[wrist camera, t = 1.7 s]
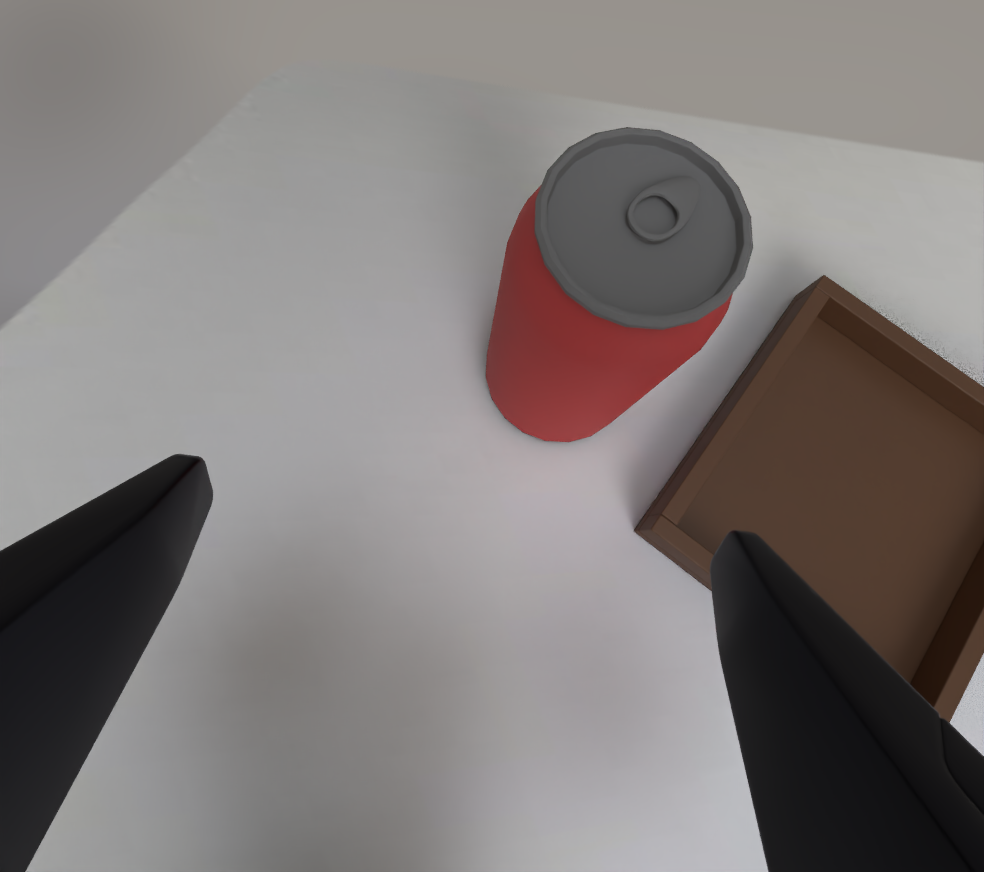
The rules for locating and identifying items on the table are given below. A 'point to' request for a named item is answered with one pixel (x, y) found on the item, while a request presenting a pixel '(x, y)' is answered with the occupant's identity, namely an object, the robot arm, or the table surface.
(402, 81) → the table surface
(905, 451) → the tray
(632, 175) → the beer can
